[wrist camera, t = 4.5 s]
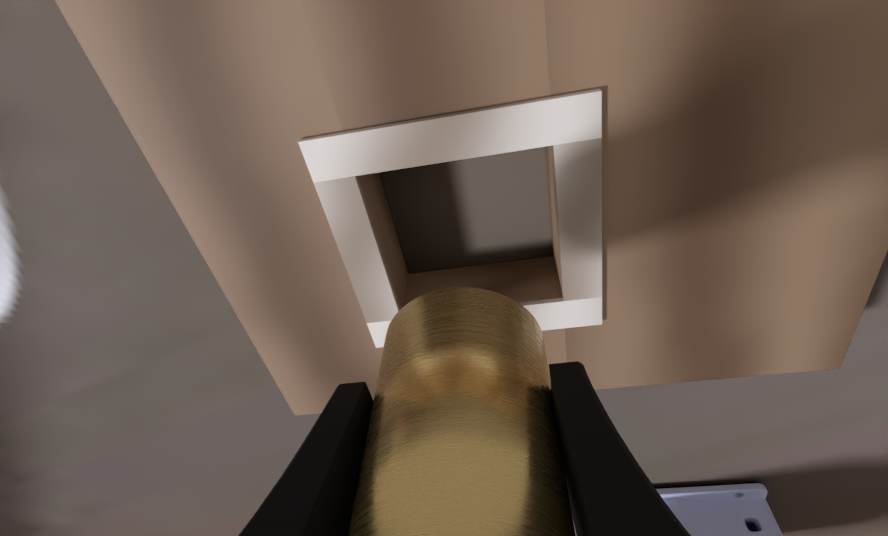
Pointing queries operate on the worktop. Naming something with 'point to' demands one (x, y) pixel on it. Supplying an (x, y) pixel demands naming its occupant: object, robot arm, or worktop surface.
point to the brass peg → (463, 425)
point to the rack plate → (513, 129)
